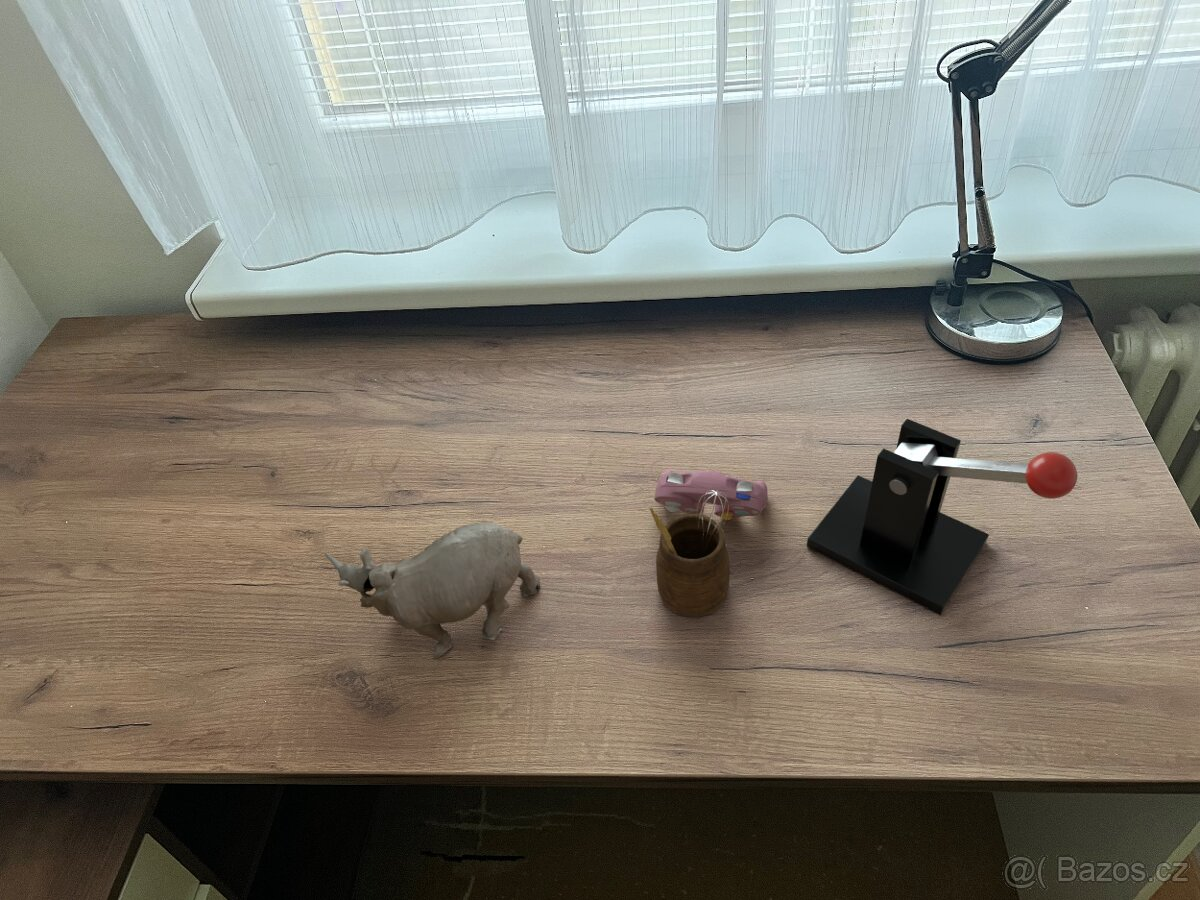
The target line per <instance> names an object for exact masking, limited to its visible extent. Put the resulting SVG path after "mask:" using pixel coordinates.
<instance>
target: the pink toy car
mask: <svg viewBox="0 0 1200 900" xmlns="http://www.w3.org/2000/svg"><path fill="white" fill-rule="evenodd" d="M708 490H710V491H708ZM711 490H713V491H711ZM717 490H718V491H717ZM707 491H708V492H707ZM714 491H715V492H717V493H718V494H720V495H717V496H716V494H715V495H714V493H715V492H714ZM706 492H707V493H709V494H706ZM720 492H722V493H720ZM723 493H724V494H725V495H726V497H725V495H724V494H723ZM704 494H706V497H705V495H704ZM703 495H704V496H703ZM712 495H713V496H712ZM721 495H722V496H721ZM702 496H703V497H702ZM710 496H711V497H710ZM715 496H716V500H715ZM718 496H719V497H720V498H719V497H718ZM723 496H724V497H725V498H726V499H727V501H728V503H727V501H726V503H725V500H726V499H725V498H724V497H723ZM701 497H702V498H701ZM709 497H710V498H709ZM700 498H701V499H700ZM704 498H705V501H706V500H707V499H708V498H709V499H708V500H707V501H706V502H705V501H704ZM720 499H721V501H722V503H721V501H720ZM699 500H700V502H699ZM714 500H715V505H714V511H713V513H714V515H715V516H717V517H719V518H721V516H722V520H724V521H725V520H726V521H729V520H731V519H739V518H741V517H759V516H761V515H762V514H763V510H764V508H765V507H766V505H767V503H768V500H769V495H768V486H767V483H766V481H765V480H757V481H752V480H748V479H744V478H740V477H735V476H734V477H733V476H730V475H727V474H724V473H722V472H719V471H716V470H711V469H707V470H705V469H704V470H698V471H693V472H690V471H689V472H688V471H673V470H671V469H668V470H665V471H664V472H663V473H662V475H660V477H659V479H658V481H657V483H656V487H655V491H654V501H655V502H656V503H658V504H661V505H663V506H665V509H666V510H667V511H668V512H671V513H676V512H679V511H681V512H684V513H686V514H696V513H697V514H700V513H701V514H702V511H701V509H702V506H703V513H704V511H705V506H706V504H709V505H713V504H714ZM703 502H704V503H705V504H704V505H703ZM698 504H699V506H698ZM728 504H729V509H728ZM722 505H723V510H724V512H723V515H722ZM724 506H725V508H724ZM697 507H698V510H697ZM727 512H728V515H727ZM726 516H727V519H726Z"/></svg>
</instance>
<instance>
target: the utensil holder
mask: <svg viewBox="0 0 1200 900" xmlns="http://www.w3.org/2000/svg"><path fill="white" fill-rule="evenodd" d="M708 491H710V490H708ZM708 491H707V492H708ZM711 491H713V490H711ZM717 491H718V490H717ZM707 492H706V494H709V493H707ZM714 492H715V491H714ZM720 493H722V492H720ZM706 494H704V495H705V497H706ZM715 494H716V496H717V495H720V494H718V493H717V492H715V493H714V495H715ZM723 494H724V493H723ZM704 495H703V496H704ZM724 495H725V494H724ZM703 496H702V497H703ZM712 496H713V495H712ZM716 496H715V500H716ZM721 496H722V495H721ZM702 497H701V498H702ZM710 497H711V496H710ZM710 497H709V498H710ZM718 497H719V496H718ZM723 497H724V496H723ZM725 497H726V495H725ZM725 497H724V498H725ZM701 498H700V499H701ZM709 498H708V499H709ZM719 498H720V497H719ZM708 499H707V500H708ZM725 499H726V498H725ZM707 500H706V501H707ZM715 500H714V504H712V508H711V513H710V516H707V515H703V514H704V512H703V506H702V509H701V511H702V513H700V514H697V513H696V514H692V513H685V514H681V515H678V516H676V517H674V518H672V519H670V520H669V521H668V522H666V524H665V523H664V521H663V520H662V518H661V516H660V517H659V515H658V513H657V512H656V511H654V509H653V507H652V506H649V507H648V508H649V510H650V513H651V516H652V518H653V520H654V524H655V525H656V527H657V529H658V531H659V532H660V537H659V540H658V541H659V542H658V548H657V552H656V557H655V568H656V569H655V570H656V585H657V591H658V594H659V597H660V599H661V600H662V603H663V604H664V605H665V606H666V607H667V608H668V609H669V610H670V611H672V612H674V613H675V614H677V615H680V616H683V617H688V618H700V617H705V616H708V615H710V614H712V613H714V612H715V611H717V610H718V609H720V607H721V606H722V605H723V603H724V602H725V601H726V599H727V596H728V593H729V589H730V571H731V570H730V568H731V566H730V565H731V564H730V553H729V549H728V547H727V540H726V536H725V532H724V531H723V527H724V525H725V523H726V522H727V520H725V519H724V522H723V524H722V520H723V518H722V516H721V517H719V520H718V522H717V521H716V520H714V519H713V518H712V517H713V513H714V510H715V505H716V504H715ZM704 501H705V498H704ZM706 501H705V502H706ZM720 501H721V499H720ZM726 501H727V499H726V500H725V503H726ZM699 502H700V500H699ZM721 503H722V501H721ZM727 503H728V501H727ZM704 504H705V505H706V503H704V502H703V505H704ZM698 506H699V504H698ZM724 508H725V506H724ZM728 509H729V504H728ZM697 510H698V507H697ZM723 512H724V510H723V505H722V515H723ZM727 515H728V512H727ZM726 519H727V516H726ZM721 524H722V526H721Z"/></svg>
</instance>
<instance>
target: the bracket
mask: <svg viewBox="0 0 1200 900" xmlns="http://www.w3.org/2000/svg"><path fill="white" fill-rule="evenodd" d="M961 442H962V439H959V438H956V437H954V436H952V435H949V434H947V433H944V432H941V431H939V430H936V429H934V428H932V427H929V426H927V425H924V424H922V423H920V422H917V421H914V420H912V419H909V418H906V419H905V420H904V421H903V423H902V424H901V425H900V430H899V435H898V439H897V444H896V449H897V448H898V446H899V445H900V444H901V443H915V444H931V445H935V447H936V451H937V454H938V457H949V458H957V456H958V452H959V449H960V445H961ZM896 449H895V450H896ZM950 479H951V477H950V476H939V475H938V471H935V470H933V469H931V468H928V467H926V466H924V465H921V464H919V463H917V462H914V461H912V460H910V459H907V458H905V457H903V456H900V455H898V454H896V453H894V451H891V450H889V449H887V448H882V449H881V450H880V452H879V453H877V456H876V461H875V467H874V470H873V476H872V480H870V479H867V478H865V477H863V476H861V475H859V474H858V475H856V477H855V478H854V479H853V480H852V481H851V483H850V485H849V486H848V487H847V488H846V489H845V491H844V492H843V493H842V494H841V496H840V497H839V498H838V499H837V501H836V502H835V503H834V505H833V506H832V507H831V508H830V509H829V511H828V512H827V513H826V515H824V517H823V518H822V520H821V521H820V522H819V523H818V525H817V526H816V527H815V528H814V529H813V531H812V532H811V533H810V535H809V536H808V537H807V540H806V541H807V542H806V548H808V549H809V550H812V551H814V552H816V553H817V554H819V555H822V556H824V557H826V558H827V559H829V560H831V561H834V562H835V563H837V564H839V565H841V566H843V567H845V568H847V569H849V570H851V571H853V572H855V573H857V574H859V575H861V576H862V577H865V578H867V579H868V580H871V581H873V582H875V583H877V584H879V585H880V586H882V587H884V588H886V589H887V590H890V591H892V592H894V593H895V594H897V595H900V596H901V597H903V598H906V599H907V600H910V601H912V603H913V602H914V603H916V604H917V605H920V606H921V607H923V608H925V609H927V610H929V611H931V612H933V613H935V614H937V615H939V616H941V615H942V614H943V612H944V611H945V610H946V607H948V604H949V603H950V601H951V600H952V599H953V596H954V595H955V593H956V592H957V590H958V589H959V588H960V586H961V584H962V583H963V581H964V579H965V578H966V576H967V575H968V572H969V571H970V569H971V568H972V566H973V565H974V563H975V561H976V560H977V559H978V557H979V555H980V554H981V552H982V550H983V549H984V547H985V546H986V544H987V541H988V539H989V533H987V532H985V531H983V530H980V529H978V528H976V527H973V526H971V525H969V524H967V523H965V522H963V521H960V520H958V519H956V518H953V517H952V516H949V515H947V514H945V513H943V512H941V511H942V507H943V504H944V501H945V497H946V493H947V490H948V486H949V483H950Z"/></svg>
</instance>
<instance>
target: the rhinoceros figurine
mask: <svg viewBox="0 0 1200 900" xmlns="http://www.w3.org/2000/svg"><path fill="white" fill-rule="evenodd" d="M523 539H524V538H523V537H522V536H521V535H520V534H519V533H518V532H514V531H513V530H512V529H510V528H507V527H505V526H502V525H500V524H497V523H495V522H473V523H468V524H465V525H462V526H459V527H457V528H455V529H454V530H451V531H449V532H448V533H445V534H443V535H442V536H441V537H440V538H437V539H435V540H434V541H433V542H432V543H431V544H430V545H428V546H426V547H425V548H424V550H422V551H420V552H419V553H418V554H417V555H415V556H413V557H405V558H402V559H400V560H399V561H398V562H397V561H396V562H394V563H381V564H379V565H377V564H376V563H375V562H374V560H373V558H372V555H371V552H370V549H369V548H368V547H367V546H366V547H364V548H363V549H362V550H361V552H360V553H359V558H360V560H361V562H362V564H352V563H348V562H346V563H343V562H342V561H340V560H338V559H336V558H334V557H333V556H332V555H330V554H329V553H328V552H324V556H325V557H326V559H327V560H329V561H330V563H331V564H332V566H333V567H334V568H335V569H336V570H337V571H338V575H339V579H340V580H339V581H338V582H337V584H338V585H339V586H340V587H347V588H350V589H351V590H352V589H353V590H355V591H356V592H357V593H360V595H361V598H359V601H360V607H361V608H366V609H370V608H374V609H376V611H377V612H378V613H379V614H380V615H382V616H385V617H391V618H393V619H394V620H395V621H396V622H397V623H398V624H399V625H400V626H401V627H402V628H404V629H405V630H413V631H414V632H416V633H418V634H419V635H422V636H425V637H429V638H431V639H432V640H434V641H436V642H438V643H437V644H436V646H435V649H434V653H433V658H436V659H439V658H440V657H442V656H443V655H445V654H446V653H447V652H448V651H449V650H450V649H451V648H452V647H453V646H454V644H453V643H451V642H452V638H453V637H452V636H451V634H450V633H449V632H448V630H446V629H445V628H443V626H441V625H442V624H447V623H458V622H461V621H464V620H466V619H468V618H470V617H471V616H473V615H474V614H476V613H477V612H478V611H479V610H480V609H481V607H482V606H484V607H485V608H486V613H487V614H486V619H485V620H484V622H483V625H482V626H483V627H482V631H481V632H482V633H481V636H480V639H483V638H484V639H485V640H491V641H495V640H496V638H497V637H499V635H500V632H502V631H503V630H504V628H503V627H501V625H500V622H499V619H500V617H501V615H502V614H503V613H504V612H505V611H506V610H508V609H509V607H510V604H509V602H508V601H507V600H506V598H505V597H506V595H507V594H508V593H509V591H510V590H511V589H512V588H513V586H514V584H515V583H516V581H517V580H518V578H519V579H521V584H520V585H519V587H520V590H521V592H520V593H522V595H523V597H529V596H530V595H531V596H532V595H536V594H538V592H539V590H536V589H537V586H538V587H539V588H541V581H540V577H539V575H537V574H535V573H534V571H533V569H532V568H531V566H530V565H528V564H526V562H524V561H522V558H521V548H520V544H522V542H523ZM538 584H539V585H538ZM374 590H375V591H374ZM371 591H374V592H373V593H372V595H371V594H369V593H368V592H371Z"/></svg>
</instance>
